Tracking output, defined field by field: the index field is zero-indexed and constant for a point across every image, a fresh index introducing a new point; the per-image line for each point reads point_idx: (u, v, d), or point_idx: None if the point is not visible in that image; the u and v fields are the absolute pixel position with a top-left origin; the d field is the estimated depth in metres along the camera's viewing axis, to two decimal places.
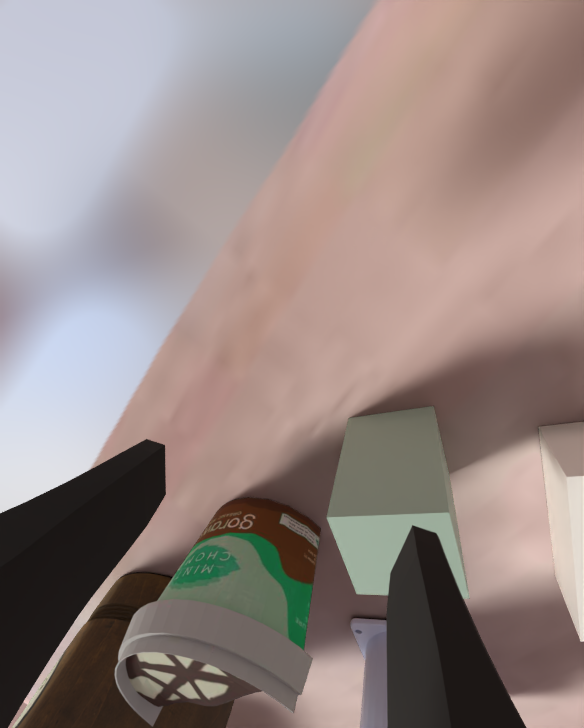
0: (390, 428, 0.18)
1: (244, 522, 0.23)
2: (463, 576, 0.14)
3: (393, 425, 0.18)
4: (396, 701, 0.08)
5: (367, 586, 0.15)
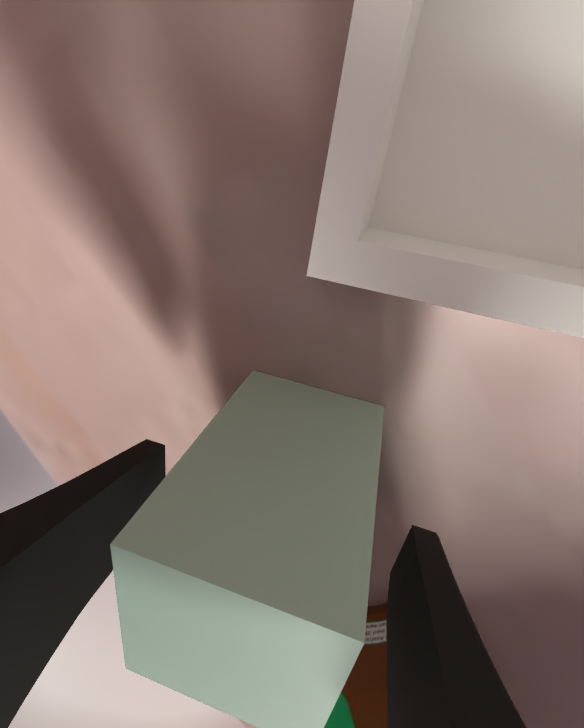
0: None
1: None
2: (288, 613, 0.06)
3: None
4: (396, 701, 0.08)
5: None
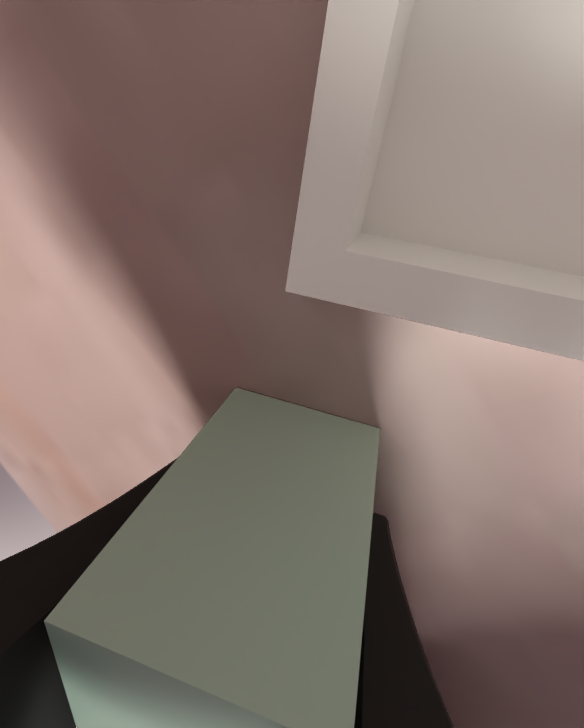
0: None
1: None
2: (258, 713, 0.05)
3: None
4: None
5: None
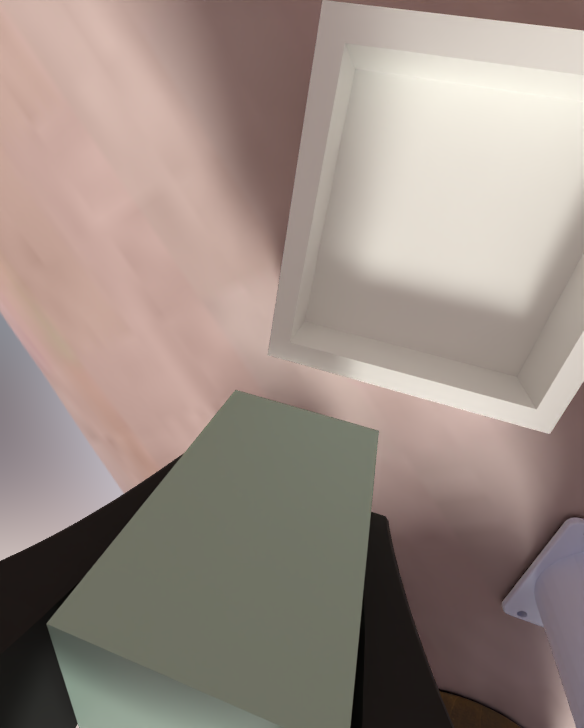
0: None
1: None
2: (257, 714, 0.05)
3: None
4: None
5: None
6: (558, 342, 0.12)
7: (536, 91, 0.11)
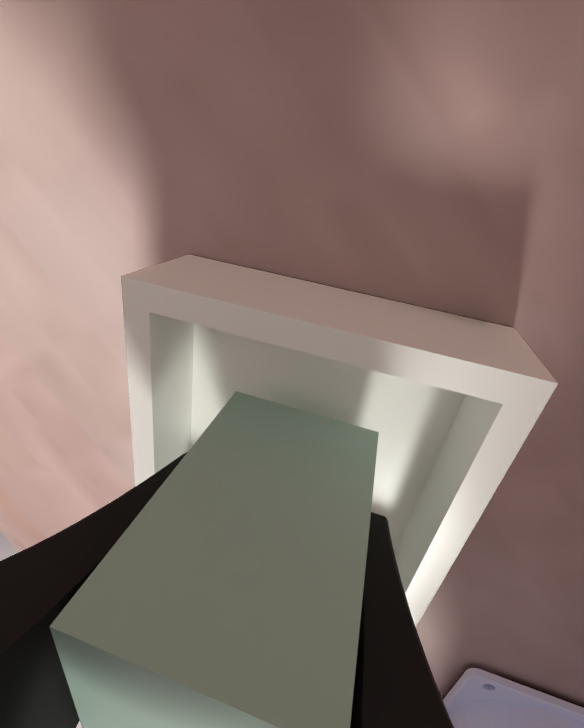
0: None
1: None
2: (257, 716, 0.05)
3: None
4: None
5: None
6: (410, 554, 0.12)
7: None
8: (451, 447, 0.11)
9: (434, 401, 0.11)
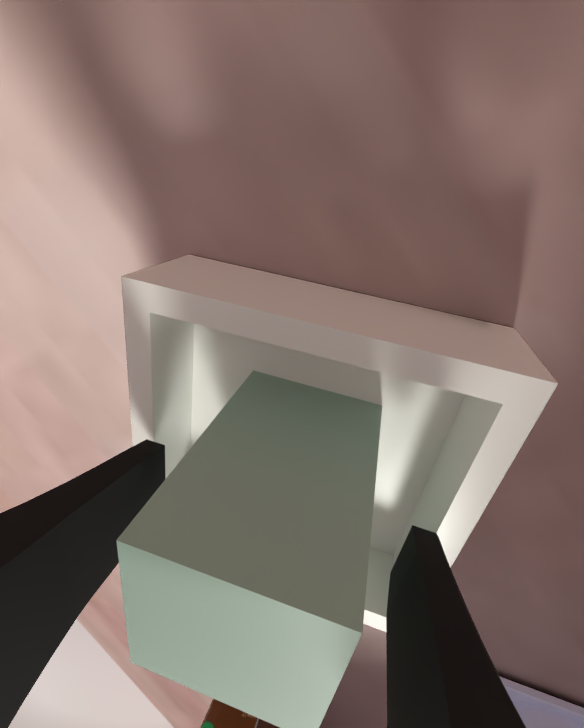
0: None
1: None
2: (289, 605, 0.06)
3: None
4: (396, 701, 0.08)
5: (295, 721, 0.08)
6: None
7: None
8: (451, 447, 0.11)
9: (435, 401, 0.11)
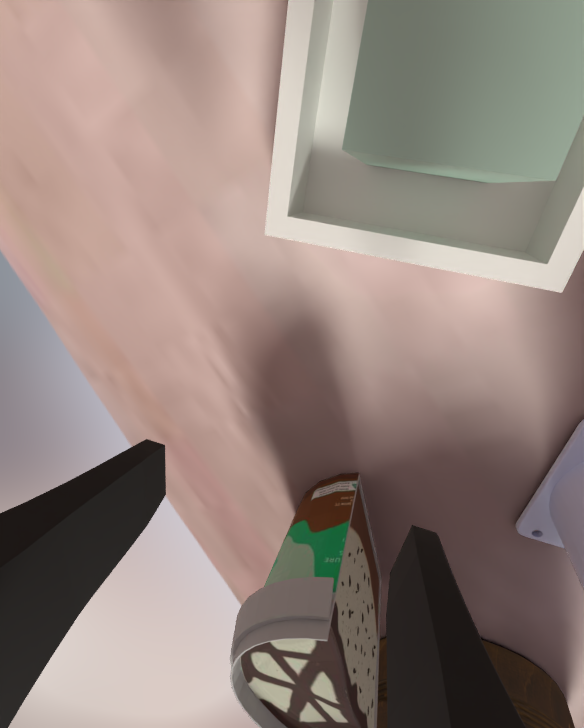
0: None
1: None
2: None
3: None
4: (396, 701, 0.08)
5: (543, 143, 0.07)
6: (568, 191, 0.12)
7: None
8: None
9: None
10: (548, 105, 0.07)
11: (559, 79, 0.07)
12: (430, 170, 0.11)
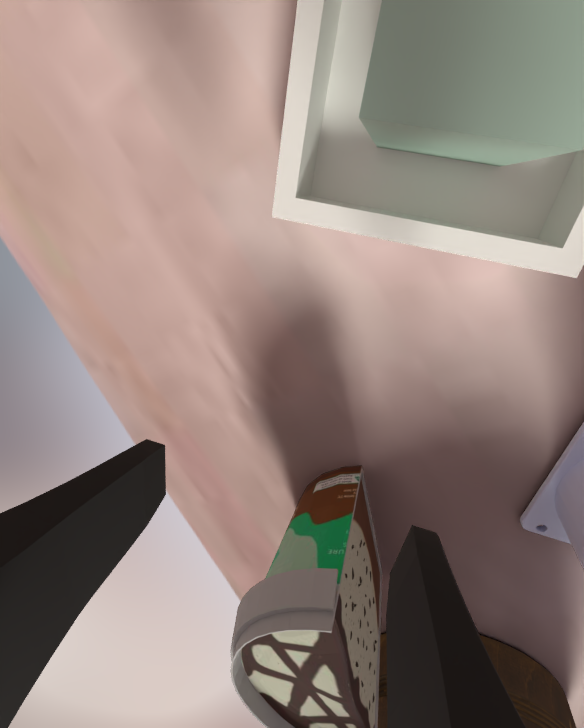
0: None
1: (292, 518, 0.22)
2: None
3: None
4: (396, 701, 0.08)
5: (571, 110, 0.07)
6: None
7: None
8: None
9: None
10: (578, 69, 0.07)
11: None
12: (445, 148, 0.11)
